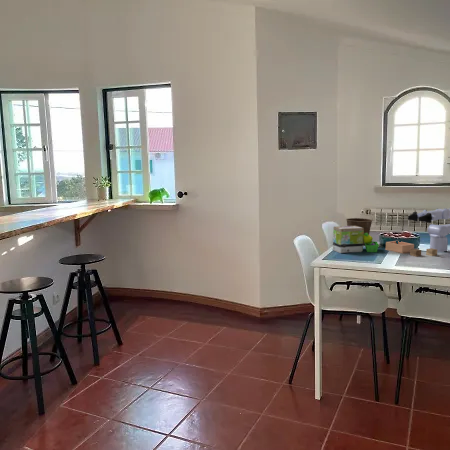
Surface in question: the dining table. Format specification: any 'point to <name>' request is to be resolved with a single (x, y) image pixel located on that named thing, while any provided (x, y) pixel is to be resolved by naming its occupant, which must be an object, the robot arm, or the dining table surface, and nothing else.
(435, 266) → the dining table surface
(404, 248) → the terracotta box
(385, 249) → the slate tray
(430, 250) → the oak block
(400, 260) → the dining table surface
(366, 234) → the fruit basket
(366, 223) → the plant pot
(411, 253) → the walnut block
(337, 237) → the tea box
